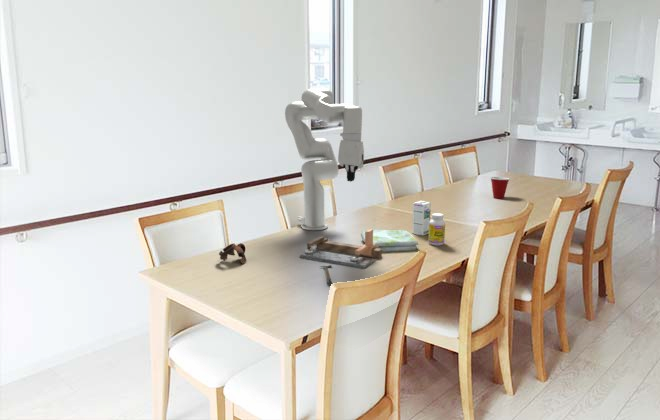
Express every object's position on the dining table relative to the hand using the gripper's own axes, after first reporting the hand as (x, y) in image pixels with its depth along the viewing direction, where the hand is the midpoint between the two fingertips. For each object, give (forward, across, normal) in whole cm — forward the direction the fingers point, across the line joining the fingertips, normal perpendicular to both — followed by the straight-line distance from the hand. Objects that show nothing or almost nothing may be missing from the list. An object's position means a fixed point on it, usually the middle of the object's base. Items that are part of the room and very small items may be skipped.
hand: (350, 180), depth 241 cm
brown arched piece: (+28, -27, -44) cm, 58 cm away
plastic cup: (+28, +34, +120) cm, 128 cm away
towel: (+27, +16, +5) cm, 32 cm away
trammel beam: (+27, +6, -17) cm, 32 cm away
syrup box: (+27, +22, +28) cm, 45 cm away
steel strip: (+26, +6, -23) cm, 36 cm away
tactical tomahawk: (+26, +12, -41) cm, 50 cm away
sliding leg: (+25, +15, -16) cm, 34 cm away
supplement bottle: (+26, +33, +16) cm, 46 cm away
